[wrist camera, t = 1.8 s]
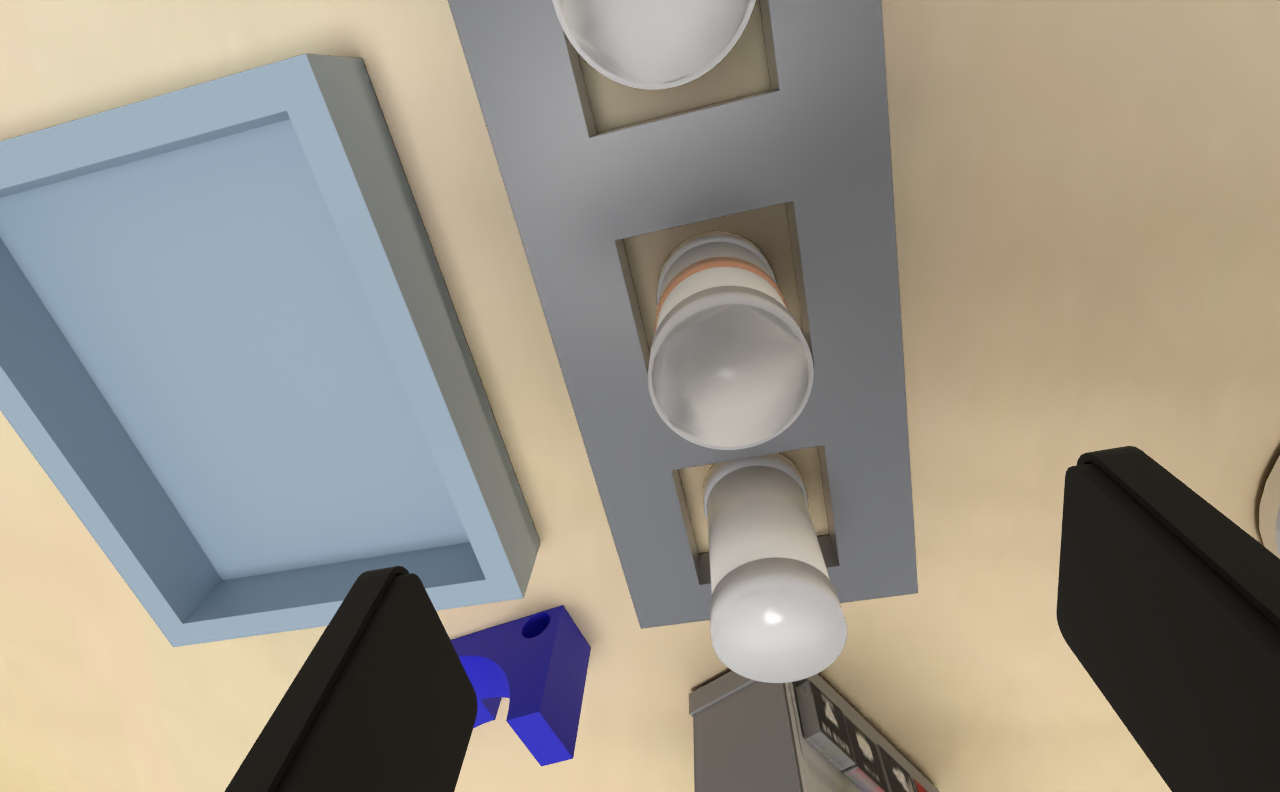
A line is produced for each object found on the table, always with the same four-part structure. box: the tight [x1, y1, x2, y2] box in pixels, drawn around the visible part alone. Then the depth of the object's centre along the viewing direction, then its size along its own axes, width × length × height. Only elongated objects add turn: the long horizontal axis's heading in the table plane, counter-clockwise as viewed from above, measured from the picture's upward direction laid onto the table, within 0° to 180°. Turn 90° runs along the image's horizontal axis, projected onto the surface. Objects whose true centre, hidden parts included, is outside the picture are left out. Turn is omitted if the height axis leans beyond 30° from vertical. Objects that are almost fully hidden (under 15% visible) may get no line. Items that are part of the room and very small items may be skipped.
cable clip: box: [450, 605, 591, 766], centre depth 31 cm, size 12×4×6 cm, turn 114°
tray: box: [0, 54, 540, 647], centre depth 25 cm, size 16×20×4 cm
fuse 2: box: [703, 453, 847, 683], centre depth 24 cm, size 4×4×8 cm
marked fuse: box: [648, 231, 814, 450], centre depth 20 cm, size 4×4×8 cm
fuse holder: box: [448, 0, 918, 629], centre depth 23 cm, size 12×28×2 cm, turn 13°
